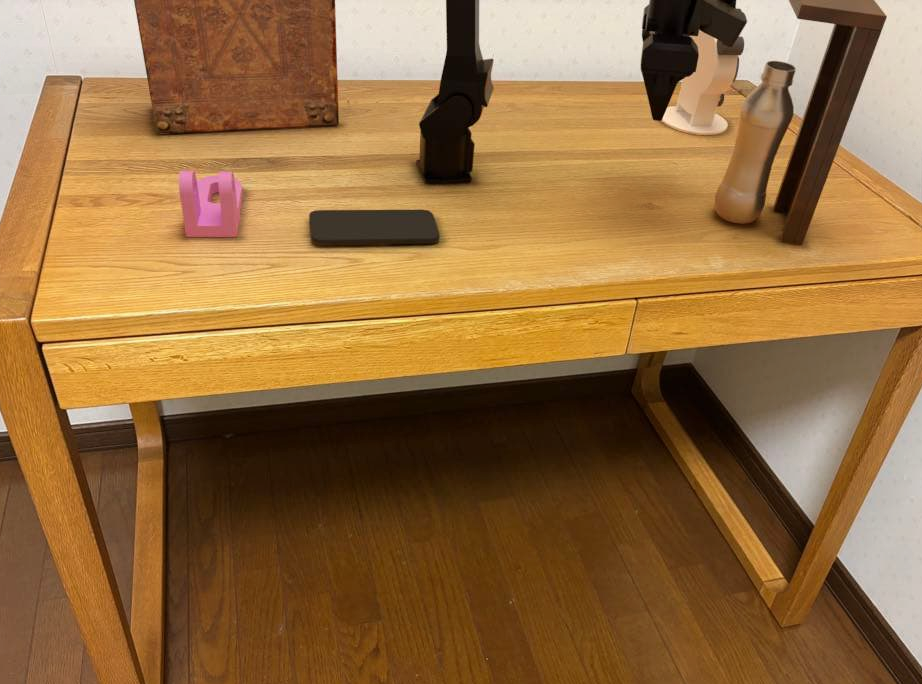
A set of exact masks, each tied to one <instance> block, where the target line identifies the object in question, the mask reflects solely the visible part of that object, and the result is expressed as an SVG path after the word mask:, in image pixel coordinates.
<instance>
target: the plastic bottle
mask: <svg viewBox="0 0 922 684" xmlns="http://www.w3.org/2000/svg"><path fill="white" fill-rule="evenodd" d="M796 71H797V68H796V67H795V66H794V65H793V64H791V63H788V62H785V61H780V60H769V61H766V63H765V64H764V68H763V71H762V73H761V75H760V80H761V83H760V84H759V85H757V86H756V87H755V88H754V89H752V91H751V92H750V93H749V94H748V95H747V96H746V97H745V98H744V99H743V102H742V103H741V108H740V111H739V113H740V114H739V119H738V124H737V125H738V127H737V132H736V133H737V134H736V137H735V140H734V148H733V150H732V154H731V157H730V160H729V163H728V166H727V167H726V171H725V174H724V176H723V179H722V180H721V182H720V184H719V185H718V188H717V190H716V192H715V195H714V196H715V197H714V209H715V212H716V214H717V216H719V217H720V218H721V219H723V220H725V221H727V222H730V223H735V224H750V223H753V222H754V221H755V220H756V219H758V218H759V217H760V215H761V213H762V211H763V209H764V207H765V204H766V198H767V192H768V191H767V189H768V185H769V180H770V175H771V172H772V167H773V164H774V162H775V157H776V156H777V153H778V151H779V148H780V146H781V143H782V141H783V140H784V137H785V135H786V134H787V133H786V132H787V131H788V129H789V126H790V125H791V123H792V120H793V117H794V109H795V107H794V103H793V98H792V96H791V93H790V92H791V91H790V89H789V87H791V86H792V85H793V83H794V77H795V75H796Z"/></svg>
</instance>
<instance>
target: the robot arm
mask: <svg viewBox="0 0 922 684" xmlns="http://www.w3.org/2000/svg"><path fill="white" fill-rule="evenodd" d="M445 20H446V22H445V23H446V24H445V25H446V29H445V30H446V52H445V58H444V62H443V67H442V72H441V77H440V83H439V89H438V93H437V94H436V95H435V96H434V97H433V98H431V100H430V102H429V103H428V105H427V107H426V109H425V111H424V113H423V115H422V117H421V118H420V121H419V123H418V126H419V130H420V131H419V132H420V133H419V134H420V135H419V157H418V158H419V159H416V160H415V164H416V167H417V170H418V171H419V173H420V175H421V178H422V180H423V182H424V183H425V184H447V183H449V184H450V183H470V182H472V180H473V176H472V175H471V173H472V172H473V167H474V158H475V157H474V155H475V142H474V140H473V139H472V131H471V129H470V128H471V127H473V126H475V124H476V123H477V122H479V120H480V119H481V116H482V114H483V111H484V109H485V108H488V105H489V103H490V100H491V97H492V95H493V92H494V89H495V87H494V85H493V83H492V72H493V67H494V62H495V61H494V58H485V59H484V57H483V54H482V51H481V47H480V46H481V45H480V0H445ZM747 23H748V19H747V16H746V13H744V12H743V10H742V9H741V8H739V7H738V8H737V0H649V3H648V4H647V5H646V6H645V7H644V8H643V15H642V22H641V29H642V30H641V39H642V47H641V55H640V72H641V75H642V79H643V83H644V88H645V91H646V95H647V101H648V105H649V110H650V114H651V117H652V118H651V119H652V120H653V121H655V122H656V121H657V122H662V121H661V120H662V119H663V116H664V114H665V112H666V109H667V107H669V104H670V102H671V100H672V98H673V95H674V92H675V90H676V87H677V85H678V84H679V83H680V82H682V81H683V79H684V78H685V77H689V76H691V75H692V74H693V72H696V68H697V62H698V57H699V52H698V46H697V44H696V43H695V42H694V40H693V39H692V38H691V37H690V36H698V33H699V30H701V31H702V32H704V33H706V34H708V35H710V36H712V37H714V38H716V39H718V40H720V41H722V44H723V45H725V46H728V47H733V46H734V44H735V42H736V40H737V39H738V37H740V35H741V34H742V32H743V30H744V28H745V27H746V25H747Z"/></svg>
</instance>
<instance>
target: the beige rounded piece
mask: <svg viewBox="0 0 922 684" xmlns="http://www.w3.org/2000/svg"><path fill="white" fill-rule="evenodd" d="M690 37H691V38H692V39H693V40H694V42H695V43H696V44H697V46H698V52H699V57H698V62H697V68H696V72H693V74H692V75H691V76H689V77H685V78H684V79H682V80H681V85H680V91H679V94H678V98H677V101H676V105H670V106H668V107H667V109H666V112H665V114H664V116H663V119H662V120H661V121H660V122H661V123H662V124H664V125H665V126H667V127H669V128H671V129H673V130H676V131H679V132H682V133H686V134H692V135H700V136H715V135H719V134H722V133H724V132H726V131H727V130H728V126H729V123H728V121H727V120H726V119H725V118H724V117H722V115H719V114H718V113H716V112H717V109H718V108H720V107H721V106H722V105H723V104H724V101H725V93H726V92H727V91H728V90H729V89H730V87H731V86H732V84H733V83H735V82H736V79H737V77H738V73H739V68H740V57H739V56H742V54H743V53H744V50H745V39H744V37H743V36H739V37H738V39H737V40H736V42H735V44H734V46H733V47H728V46H725V45H723V44H722V41H720V40H718V39H716V38H714V37H712V36H710V35H708V34H706V33H704V32H702V31H701V30H699V33H698V36H690Z"/></svg>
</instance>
